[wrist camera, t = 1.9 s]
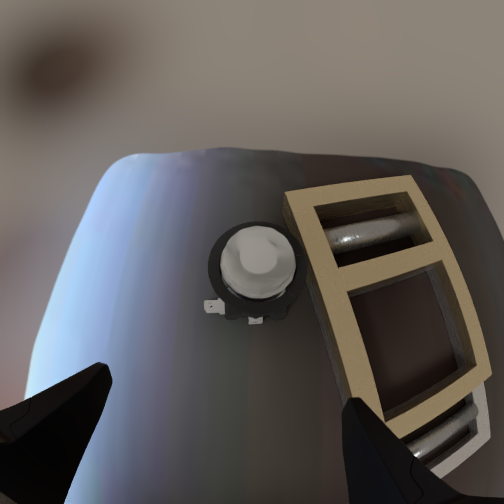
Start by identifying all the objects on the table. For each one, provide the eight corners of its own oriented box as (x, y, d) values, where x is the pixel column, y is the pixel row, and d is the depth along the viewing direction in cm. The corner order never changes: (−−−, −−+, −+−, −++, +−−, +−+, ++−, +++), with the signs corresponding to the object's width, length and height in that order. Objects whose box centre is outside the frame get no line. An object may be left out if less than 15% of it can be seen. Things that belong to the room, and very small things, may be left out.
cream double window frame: (367, 511, 14) (379, 523, 11) (281, 210, 27) (284, 192, 24) (481, 437, 16) (499, 438, 13) (400, 191, 29) (410, 174, 26)
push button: (207, 340, 22) (177, 311, 13) (206, 279, 24) (182, 215, 15) (289, 335, 22) (318, 304, 13) (283, 275, 24) (303, 210, 15)
